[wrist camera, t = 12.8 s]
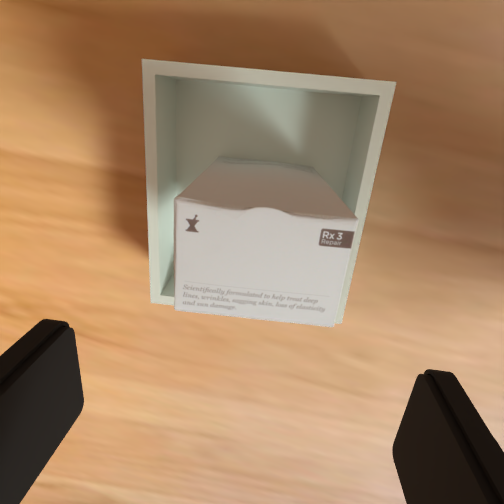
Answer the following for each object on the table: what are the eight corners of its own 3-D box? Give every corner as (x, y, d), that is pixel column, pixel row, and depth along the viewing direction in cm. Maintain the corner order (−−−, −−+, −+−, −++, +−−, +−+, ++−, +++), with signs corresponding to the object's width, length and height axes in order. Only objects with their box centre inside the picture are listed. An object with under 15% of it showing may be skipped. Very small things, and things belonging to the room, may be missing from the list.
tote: (371, 86, 26) (396, 81, 21) (330, 287, 33) (341, 323, 28) (169, 67, 27) (141, 58, 21) (171, 270, 34) (150, 302, 28)
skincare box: (213, 220, 30) (162, 316, 17) (218, 150, 28) (162, 195, 14) (308, 232, 30) (334, 338, 17) (321, 162, 28) (363, 220, 14)
